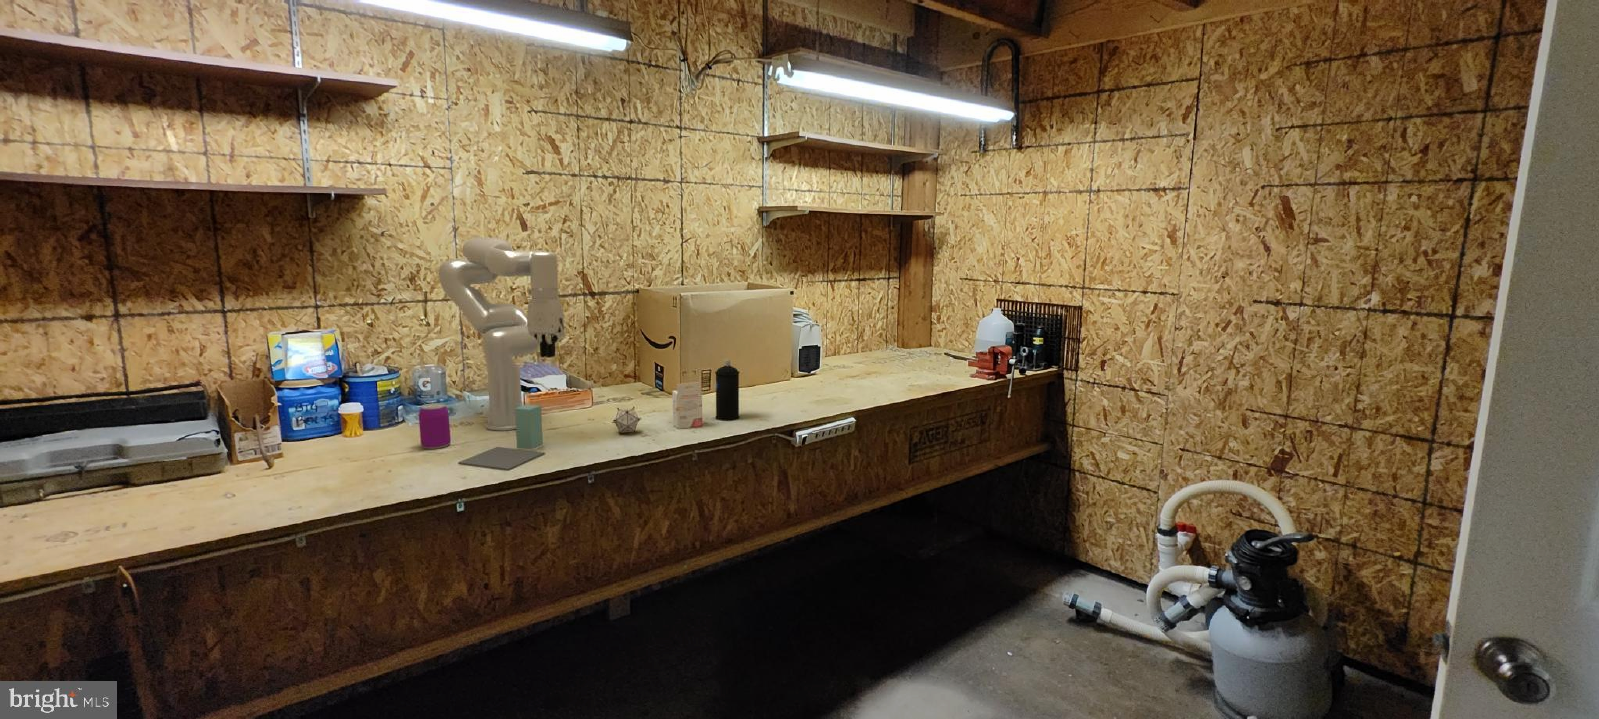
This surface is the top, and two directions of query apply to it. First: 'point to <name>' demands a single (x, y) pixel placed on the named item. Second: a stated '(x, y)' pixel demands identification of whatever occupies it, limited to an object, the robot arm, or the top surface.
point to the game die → (626, 420)
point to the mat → (502, 458)
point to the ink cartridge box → (687, 406)
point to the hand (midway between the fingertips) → (547, 356)
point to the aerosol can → (727, 392)
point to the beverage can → (434, 426)
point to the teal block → (528, 427)
